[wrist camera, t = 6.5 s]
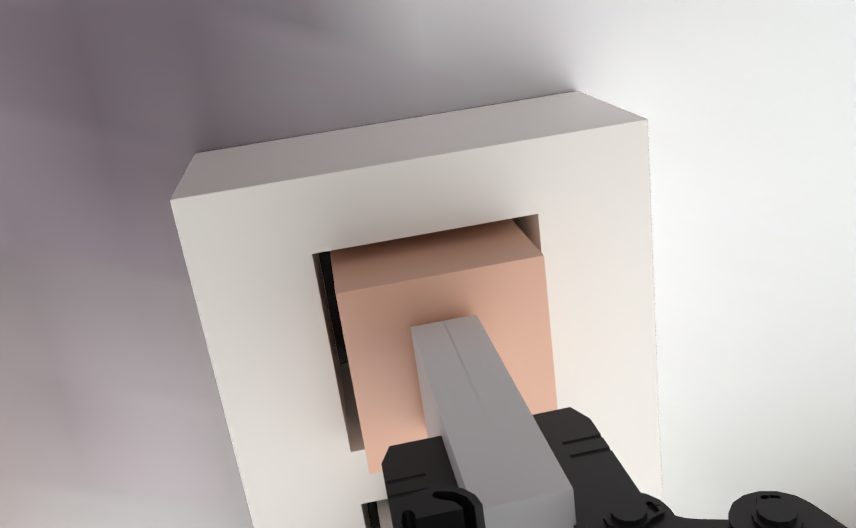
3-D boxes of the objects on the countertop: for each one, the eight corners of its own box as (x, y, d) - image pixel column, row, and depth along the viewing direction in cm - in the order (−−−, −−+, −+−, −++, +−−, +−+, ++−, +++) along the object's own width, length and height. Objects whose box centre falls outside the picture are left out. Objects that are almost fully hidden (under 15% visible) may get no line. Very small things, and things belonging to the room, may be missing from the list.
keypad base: (577, 90, 24) (647, 119, 19) (617, 682, 32) (674, 805, 27) (195, 153, 22) (169, 200, 18) (338, 749, 31) (346, 889, 26)
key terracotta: (484, 188, 23) (544, 255, 18) (499, 332, 25) (559, 435, 19) (324, 215, 23) (335, 294, 17) (352, 360, 25) (369, 474, 19)
